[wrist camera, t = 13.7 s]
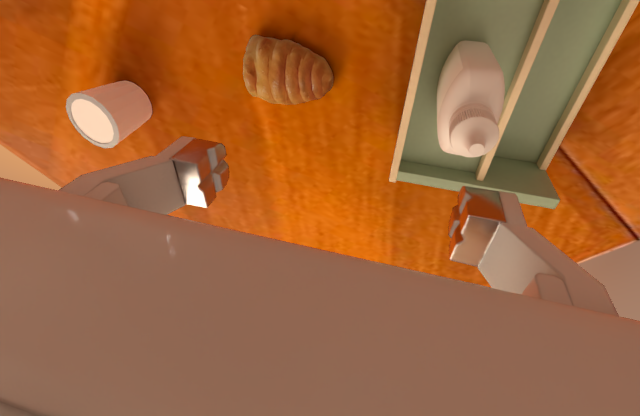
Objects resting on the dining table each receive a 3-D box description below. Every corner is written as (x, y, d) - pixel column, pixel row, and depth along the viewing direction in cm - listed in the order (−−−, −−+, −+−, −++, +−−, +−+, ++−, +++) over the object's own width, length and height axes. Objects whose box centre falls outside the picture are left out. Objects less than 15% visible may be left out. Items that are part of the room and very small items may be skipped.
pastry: (338, 42, 33) (328, 51, 30) (333, 107, 37) (324, 120, 34) (251, 31, 35) (234, 39, 32) (255, 94, 39) (241, 106, 36)
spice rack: (441, -72, 26) (443, -83, 18) (643, -63, 24) (758, -70, 15) (397, 137, 37) (386, 191, 29) (531, 158, 35) (561, 224, 26)
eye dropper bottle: (415, 91, 27) (404, 162, 18) (469, 27, 24) (491, 76, 14) (455, 122, 28) (465, 207, 19) (514, 65, 24) (562, 134, 15)
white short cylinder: (164, 105, 43) (126, 127, 38) (144, 135, 47) (107, 158, 42) (120, 63, 41) (73, 80, 36) (103, 98, 45) (58, 117, 40)
